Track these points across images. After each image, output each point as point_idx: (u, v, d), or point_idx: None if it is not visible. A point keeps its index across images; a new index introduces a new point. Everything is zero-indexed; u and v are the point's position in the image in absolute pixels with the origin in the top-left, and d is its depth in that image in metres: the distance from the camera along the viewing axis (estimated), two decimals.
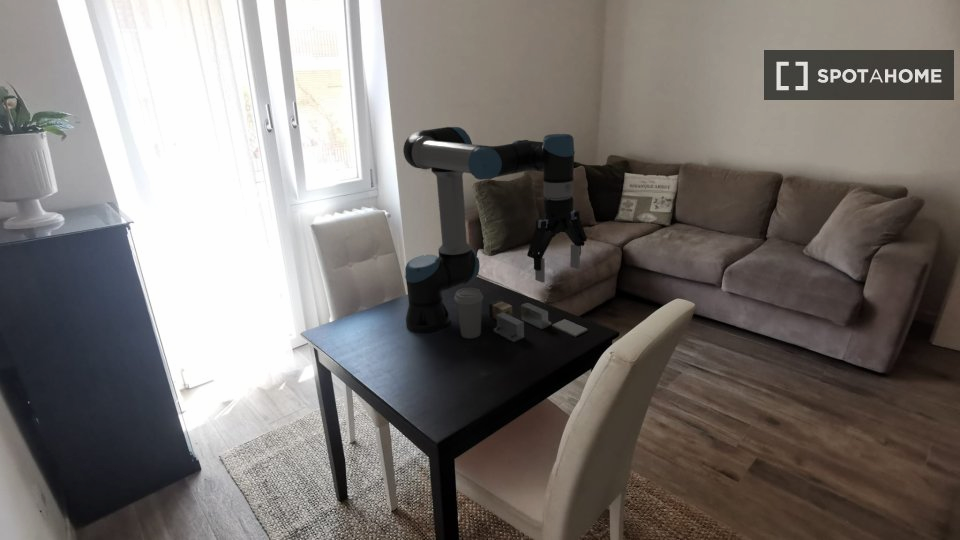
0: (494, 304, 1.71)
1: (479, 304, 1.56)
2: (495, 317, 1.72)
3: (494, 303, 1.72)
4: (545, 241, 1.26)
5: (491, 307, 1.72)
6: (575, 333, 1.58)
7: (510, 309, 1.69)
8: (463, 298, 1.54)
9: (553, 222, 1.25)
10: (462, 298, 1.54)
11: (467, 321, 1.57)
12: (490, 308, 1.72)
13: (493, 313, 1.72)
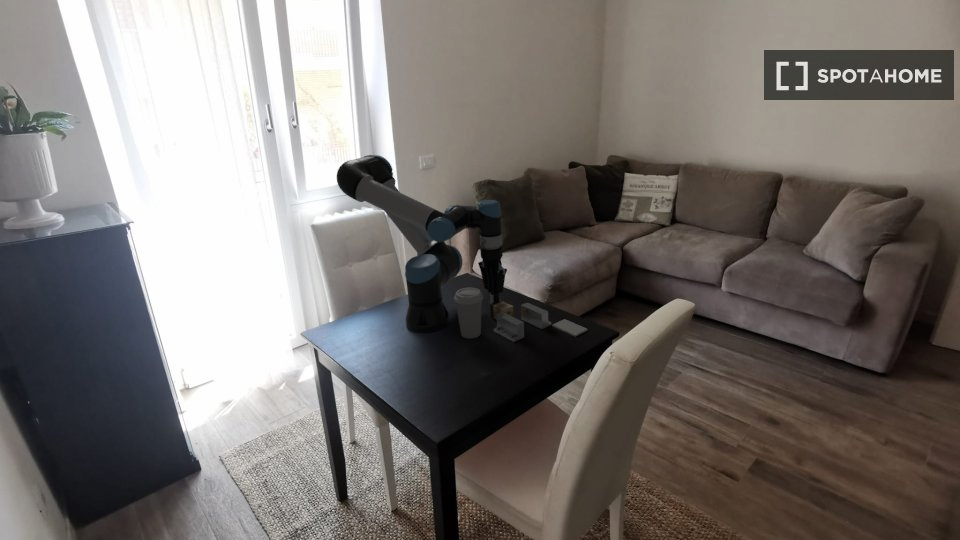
0: (495, 304, 1.71)
1: (479, 304, 1.56)
2: (496, 317, 1.71)
3: (495, 303, 1.72)
4: None
5: (492, 307, 1.71)
6: (575, 333, 1.58)
7: (511, 309, 1.69)
8: (463, 298, 1.54)
9: (484, 261, 1.70)
10: (462, 298, 1.54)
11: (467, 321, 1.57)
12: (491, 308, 1.72)
13: (494, 314, 1.72)
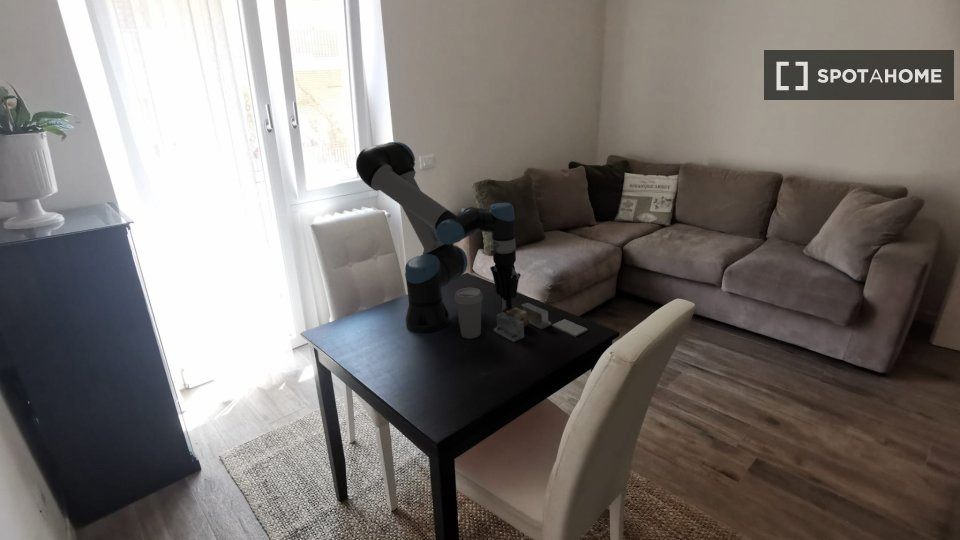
0: (508, 310, 1.66)
1: (479, 304, 1.56)
2: None
3: (508, 309, 1.67)
4: None
5: None
6: (575, 333, 1.58)
7: (525, 315, 1.64)
8: (463, 298, 1.54)
9: (496, 265, 1.65)
10: (462, 298, 1.54)
11: (467, 321, 1.57)
12: None
13: None
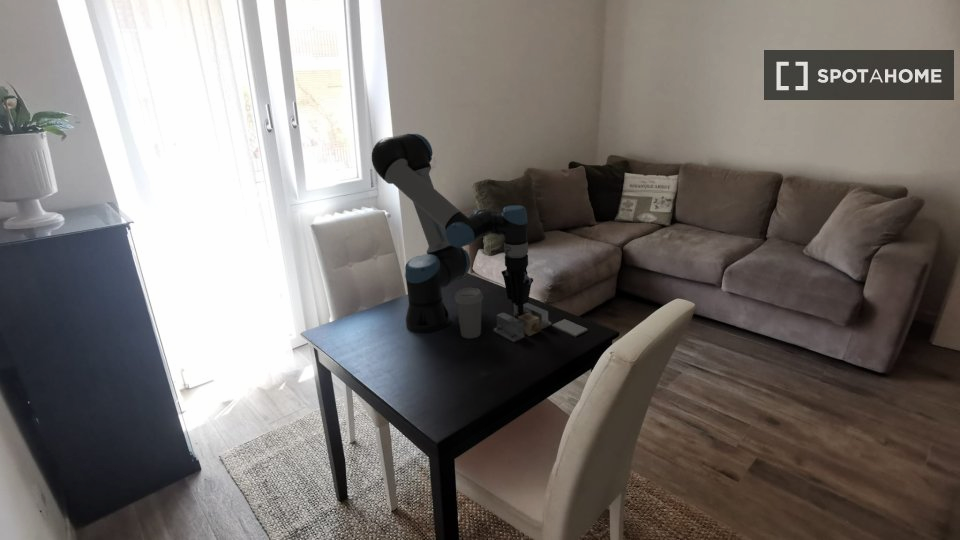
0: (520, 316, 1.62)
1: (479, 304, 1.56)
2: None
3: (520, 315, 1.62)
4: None
5: None
6: (575, 333, 1.58)
7: (537, 321, 1.60)
8: (463, 298, 1.54)
9: (508, 270, 1.61)
10: (462, 298, 1.54)
11: (467, 321, 1.57)
12: None
13: None
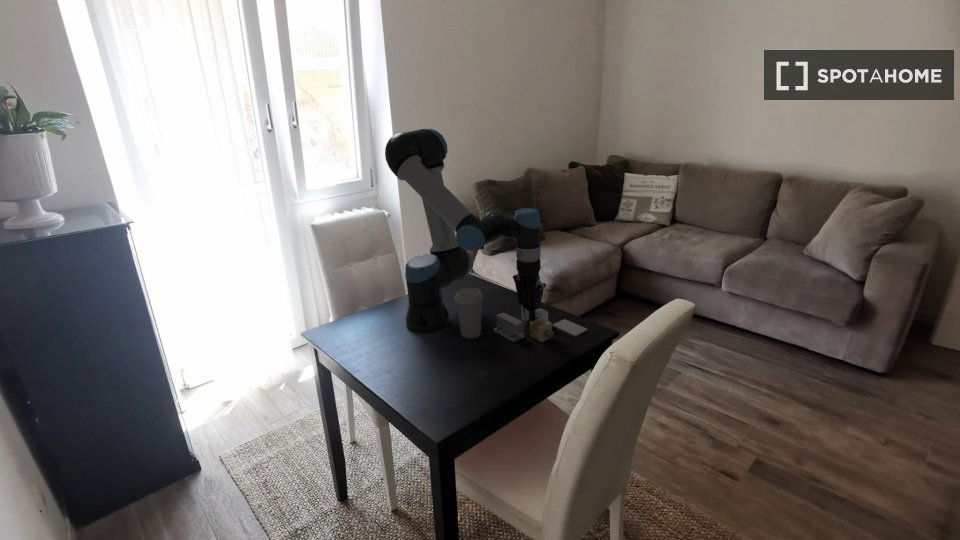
0: (531, 321, 1.57)
1: (479, 304, 1.56)
2: (532, 335, 1.58)
3: (531, 320, 1.58)
4: None
5: (528, 324, 1.58)
6: (575, 333, 1.58)
7: (549, 327, 1.56)
8: (463, 298, 1.54)
9: (520, 274, 1.56)
10: (462, 298, 1.54)
11: (467, 321, 1.57)
12: (527, 325, 1.58)
13: (530, 331, 1.58)
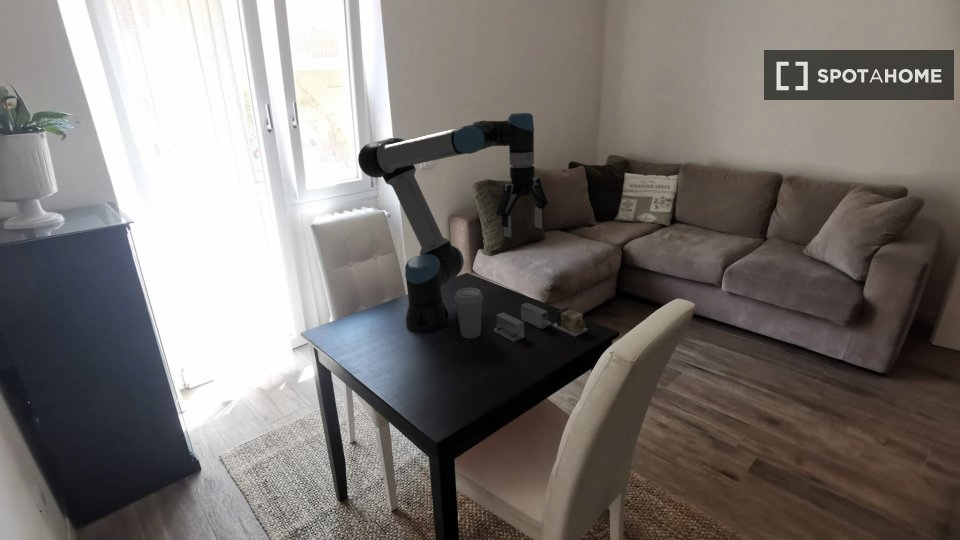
0: (563, 312, 1.61)
1: (479, 304, 1.56)
2: (564, 326, 1.61)
3: (562, 311, 1.62)
4: (511, 202, 1.51)
5: (559, 315, 1.61)
6: (575, 333, 1.58)
7: (581, 318, 1.59)
8: (463, 298, 1.54)
9: (517, 186, 1.51)
10: (462, 298, 1.54)
11: (467, 321, 1.57)
12: (558, 316, 1.62)
13: (561, 322, 1.62)
